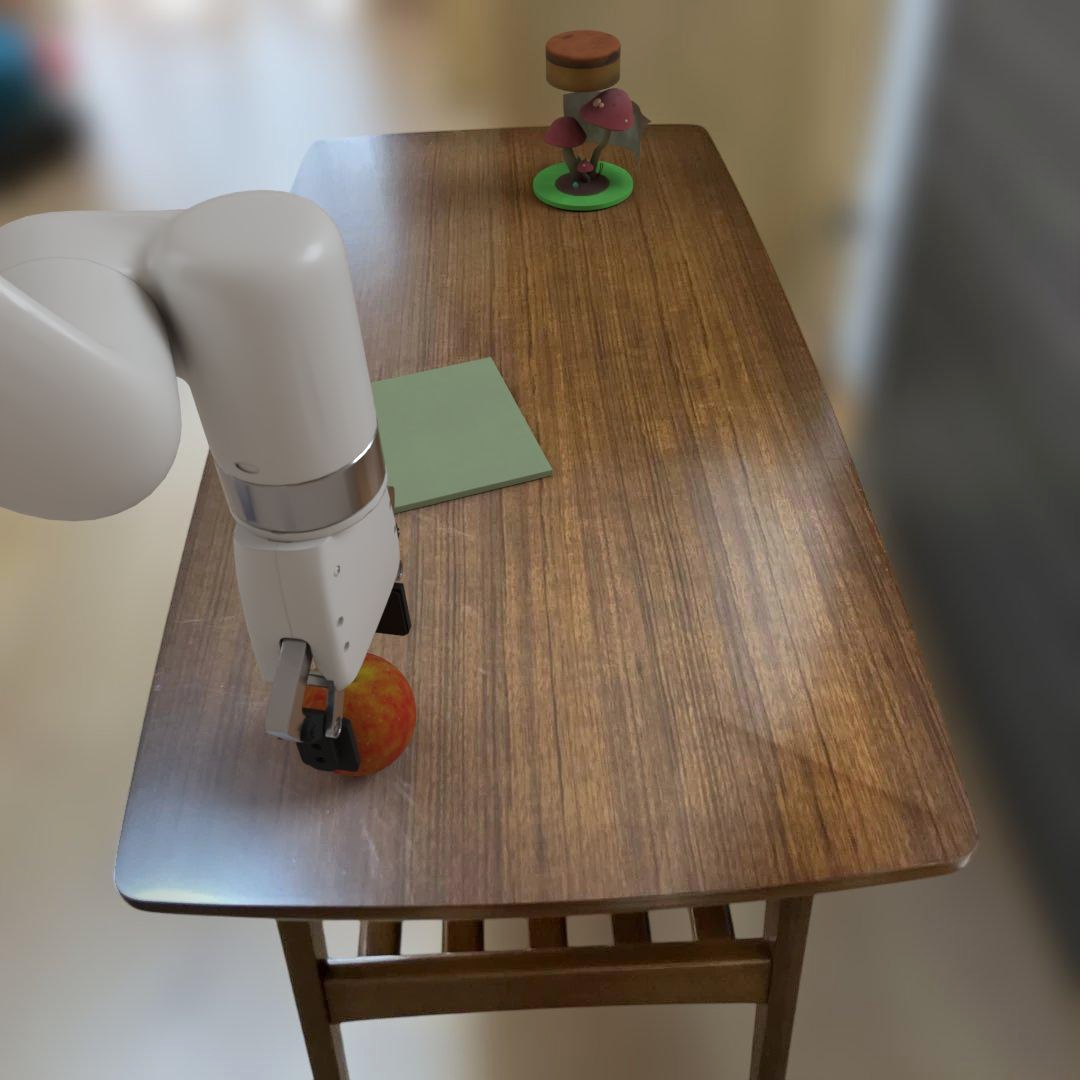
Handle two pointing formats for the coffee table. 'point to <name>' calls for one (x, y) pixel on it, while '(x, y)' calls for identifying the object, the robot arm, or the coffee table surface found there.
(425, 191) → the coffee table surface
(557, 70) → the mushroom figurine
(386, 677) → the fruit
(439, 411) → the mat
